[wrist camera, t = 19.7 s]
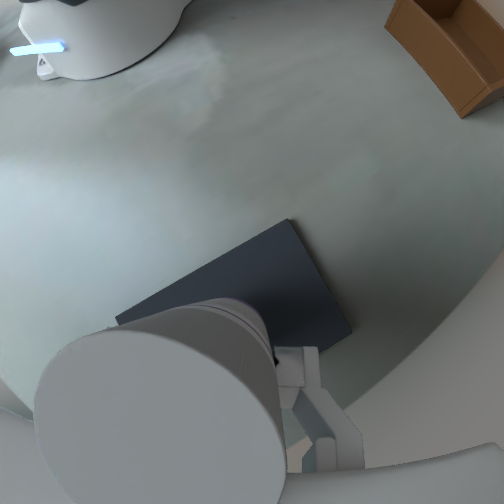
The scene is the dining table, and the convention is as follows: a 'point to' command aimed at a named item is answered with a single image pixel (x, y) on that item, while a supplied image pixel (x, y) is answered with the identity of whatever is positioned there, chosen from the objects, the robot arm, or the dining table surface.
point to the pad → (262, 290)
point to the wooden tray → (453, 48)
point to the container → (166, 410)
